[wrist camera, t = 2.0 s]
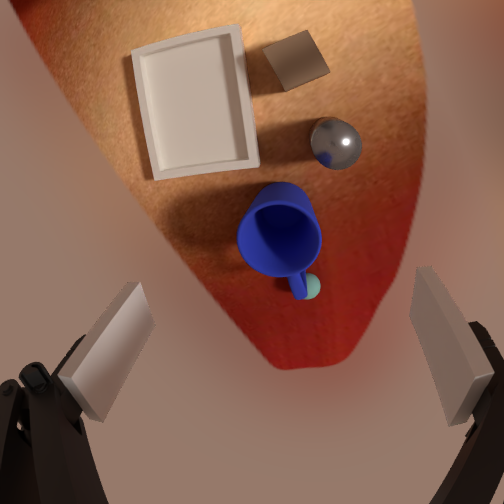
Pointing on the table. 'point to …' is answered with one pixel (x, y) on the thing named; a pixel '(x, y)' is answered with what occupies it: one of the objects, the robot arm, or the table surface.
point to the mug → (281, 235)
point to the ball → (312, 285)
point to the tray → (196, 103)
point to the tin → (335, 143)
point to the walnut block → (296, 60)
